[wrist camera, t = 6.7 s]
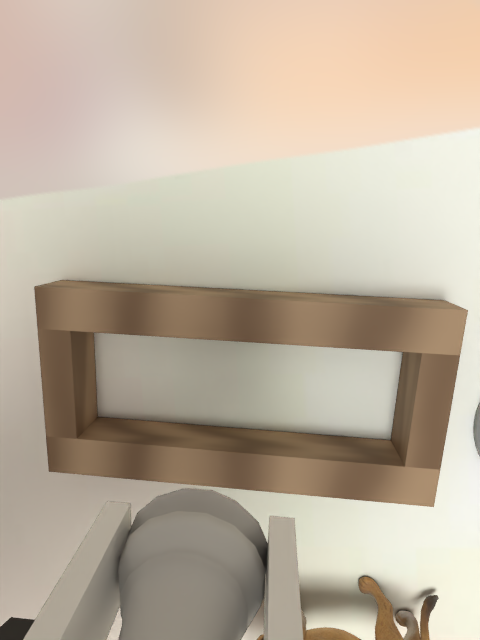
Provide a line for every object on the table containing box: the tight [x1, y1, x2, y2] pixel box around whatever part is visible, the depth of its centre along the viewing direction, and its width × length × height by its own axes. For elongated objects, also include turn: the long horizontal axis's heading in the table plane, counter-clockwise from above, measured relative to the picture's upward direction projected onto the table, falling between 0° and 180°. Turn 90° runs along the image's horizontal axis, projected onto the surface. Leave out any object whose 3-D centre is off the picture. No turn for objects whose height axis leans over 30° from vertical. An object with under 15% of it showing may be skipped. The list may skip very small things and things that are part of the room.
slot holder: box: [34, 280, 468, 507], centre depth 25 cm, size 24×12×3 cm, turn 88°
